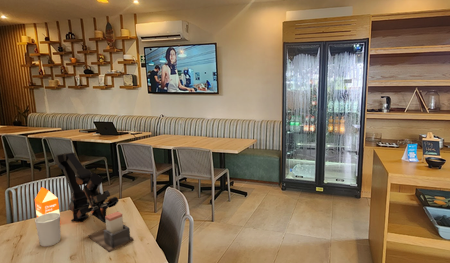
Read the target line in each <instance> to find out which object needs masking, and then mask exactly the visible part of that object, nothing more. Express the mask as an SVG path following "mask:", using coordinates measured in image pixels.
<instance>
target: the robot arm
mask: <svg viewBox="0 0 450 263" xmlns="http://www.w3.org/2000/svg"><path fill="white" fill-rule="evenodd" d="M54 163H55V164H56V166H57V167H58V168H59V169H60V170H62V171H63V174H64V176H65V180H66V182H67V184H68V185H67V186H68V187H69V190H70V193H71V196H70V203H69V205H68V209H69V210H70V211H71V212H72V215H73V218H72V219H71V220H70V221H71V222H80V223H82V222H84V221H85V220H86V219H88V218H89V217H90V216H91V217H95V218H97V219H98V220H100V221H101V222H102V223H103V224H106V219H105V216H107V209H109V208H112V207H114V206H116V205H117V204H118V203H119V201H120V200H119V198H118V197H116V196H113V197H111V193H110V191H109V190H108V189H107V190H105V191H104V190H103V193H101V192H99V188H100V186H101V185H102V183H103V181H104V179H103V177H102V176H101V175H100V174H96V172H92V171H91V170H90V169H89V168H88V169H87V168H85V167H84V165H83V164H82V162H81V161H80V160H79V159H78V157H77V155H76V153H75V152H65V153H59V154H56V156H54ZM81 186H83V188H82V189H81ZM109 197H110V198H109ZM108 198H109V199H108ZM89 213H90V215H88V214H89Z"/></svg>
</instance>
